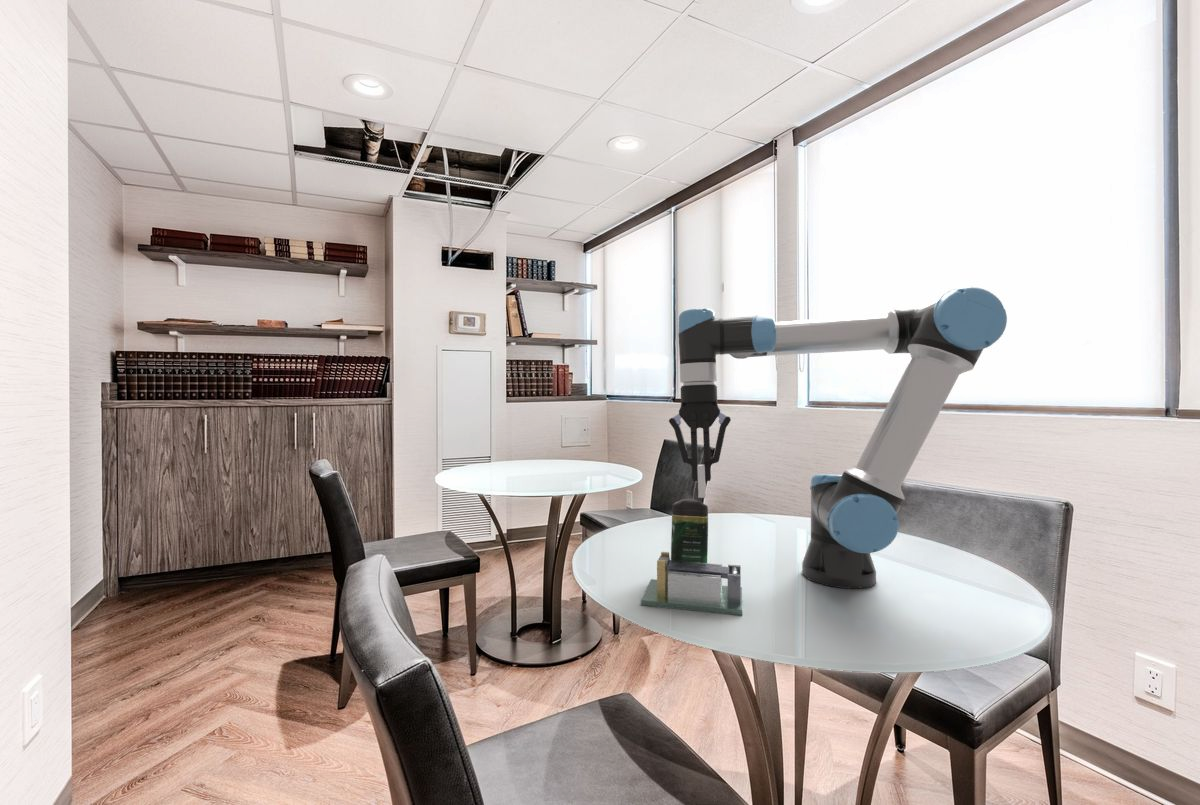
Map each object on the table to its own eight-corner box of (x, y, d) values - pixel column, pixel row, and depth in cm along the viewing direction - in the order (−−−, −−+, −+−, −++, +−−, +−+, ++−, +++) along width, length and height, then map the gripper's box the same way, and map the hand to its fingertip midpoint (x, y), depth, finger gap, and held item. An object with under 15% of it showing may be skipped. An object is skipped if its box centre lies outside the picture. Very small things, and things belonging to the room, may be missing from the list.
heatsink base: (741, 592, 110) (741, 553, 110) (742, 615, 99) (742, 572, 99) (650, 583, 115) (650, 547, 115) (641, 605, 103) (641, 564, 103)
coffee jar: (709, 591, 110) (710, 500, 113) (671, 588, 111) (673, 498, 114) (704, 582, 120) (705, 498, 122) (669, 580, 121) (671, 497, 123)
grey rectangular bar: (729, 572, 107) (729, 564, 107) (728, 578, 103) (729, 570, 103) (659, 563, 110) (660, 555, 110) (656, 569, 107) (657, 561, 107)
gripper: (729, 383, 114) (733, 493, 114) (668, 385, 116) (672, 493, 117) (730, 382, 106) (734, 500, 107) (665, 385, 109) (669, 499, 109)
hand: (702, 496), depth 112 cm, fingers closed
